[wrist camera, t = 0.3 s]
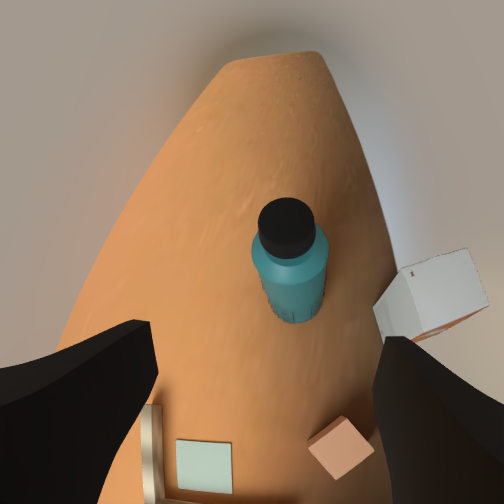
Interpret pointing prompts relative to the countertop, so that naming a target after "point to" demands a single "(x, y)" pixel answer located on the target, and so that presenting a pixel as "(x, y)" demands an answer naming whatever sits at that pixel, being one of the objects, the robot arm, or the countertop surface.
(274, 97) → the countertop surface
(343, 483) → the countertop surface
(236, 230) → the countertop surface
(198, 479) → the pad
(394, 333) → the small box
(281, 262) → the beverage bottle
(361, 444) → the cube
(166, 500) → the l-shaped wall
